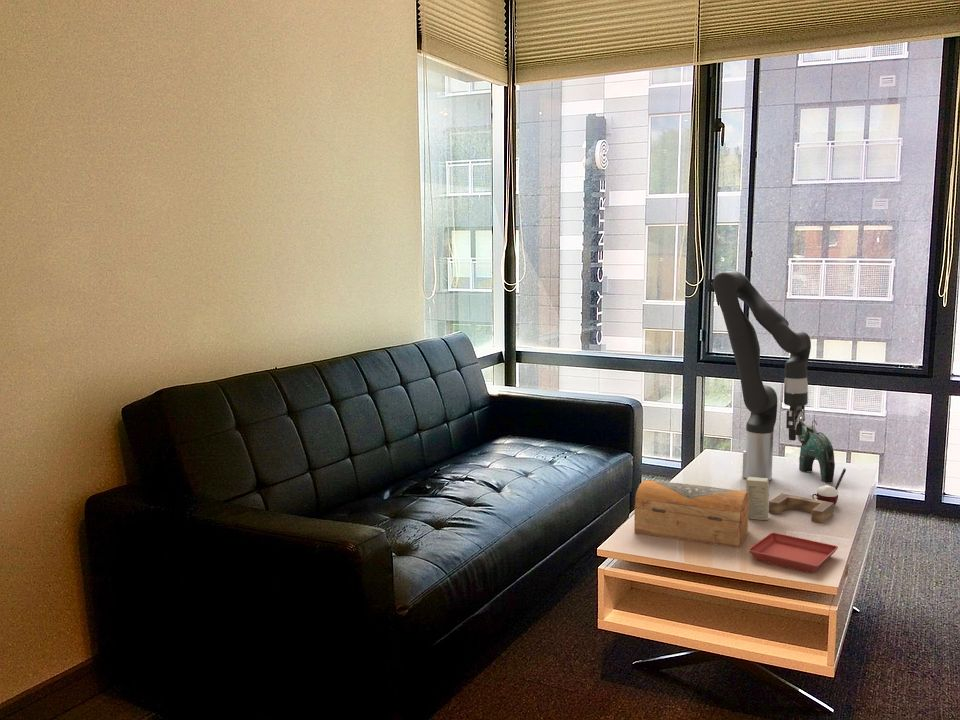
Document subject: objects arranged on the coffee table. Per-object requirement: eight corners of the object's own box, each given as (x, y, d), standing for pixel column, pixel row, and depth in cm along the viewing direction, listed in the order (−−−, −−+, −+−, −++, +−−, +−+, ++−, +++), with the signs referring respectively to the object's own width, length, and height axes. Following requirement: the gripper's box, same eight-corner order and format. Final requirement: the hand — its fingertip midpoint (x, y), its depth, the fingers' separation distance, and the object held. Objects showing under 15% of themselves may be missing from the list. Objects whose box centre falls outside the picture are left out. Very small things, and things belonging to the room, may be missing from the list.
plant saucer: (771, 542, 229) (771, 531, 229) (838, 557, 218) (839, 545, 217) (746, 561, 215) (747, 549, 215) (817, 578, 204) (817, 566, 203)
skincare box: (768, 516, 250) (770, 478, 248) (767, 521, 246) (768, 481, 244) (746, 514, 252) (748, 475, 251) (744, 518, 248) (746, 479, 247)
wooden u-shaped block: (768, 512, 254) (768, 501, 253) (781, 503, 262) (781, 493, 261) (821, 523, 243) (822, 511, 243) (833, 513, 252) (833, 502, 251)
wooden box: (749, 531, 238) (751, 485, 236) (740, 550, 223) (742, 501, 221) (648, 516, 251) (649, 473, 249) (633, 533, 237) (634, 487, 235)
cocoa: (811, 506, 260) (810, 470, 259) (815, 500, 266) (815, 464, 264) (843, 510, 255) (843, 473, 253) (847, 504, 260) (847, 467, 258)
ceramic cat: (793, 468, 303) (796, 415, 300) (810, 468, 304) (813, 415, 301) (821, 483, 283) (824, 427, 281) (839, 483, 284) (842, 426, 281)
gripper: (790, 387, 284) (789, 432, 286) (778, 393, 272) (778, 440, 274) (812, 388, 279) (812, 434, 281) (802, 394, 268) (801, 442, 270)
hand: (795, 437), depth 278 cm, fingers open, 8 cm apart
